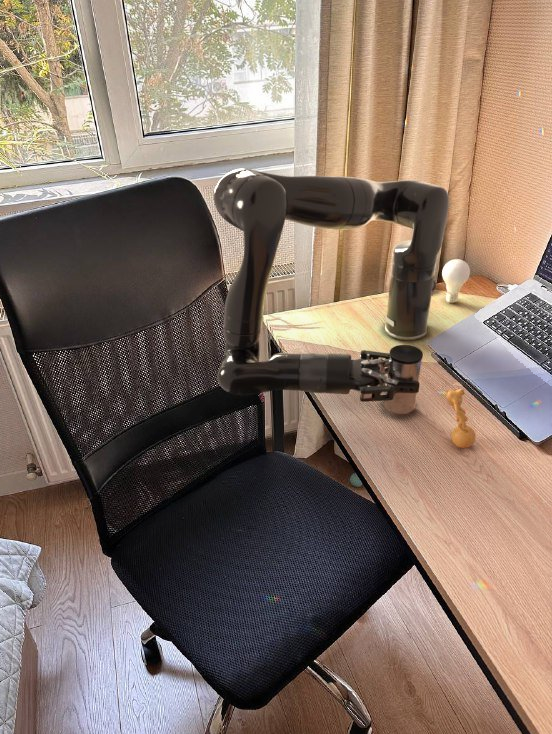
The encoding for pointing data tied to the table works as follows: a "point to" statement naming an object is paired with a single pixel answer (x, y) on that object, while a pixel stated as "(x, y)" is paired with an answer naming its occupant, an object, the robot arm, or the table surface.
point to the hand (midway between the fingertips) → (417, 377)
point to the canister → (404, 376)
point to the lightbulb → (455, 277)
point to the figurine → (462, 433)
